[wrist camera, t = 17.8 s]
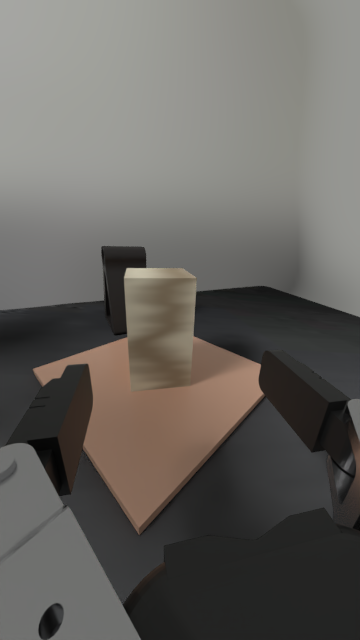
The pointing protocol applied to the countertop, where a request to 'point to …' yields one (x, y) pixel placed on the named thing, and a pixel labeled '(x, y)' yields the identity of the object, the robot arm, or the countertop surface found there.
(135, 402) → the terracotta tile
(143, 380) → the maple block
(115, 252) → the phone stand
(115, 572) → the countertop surface
